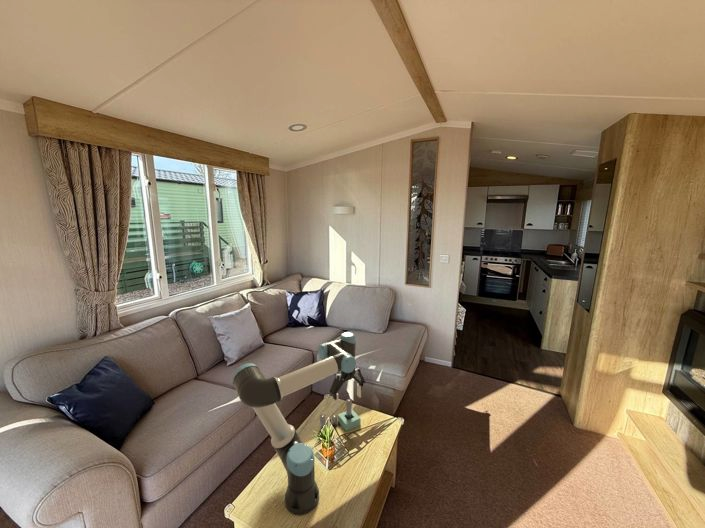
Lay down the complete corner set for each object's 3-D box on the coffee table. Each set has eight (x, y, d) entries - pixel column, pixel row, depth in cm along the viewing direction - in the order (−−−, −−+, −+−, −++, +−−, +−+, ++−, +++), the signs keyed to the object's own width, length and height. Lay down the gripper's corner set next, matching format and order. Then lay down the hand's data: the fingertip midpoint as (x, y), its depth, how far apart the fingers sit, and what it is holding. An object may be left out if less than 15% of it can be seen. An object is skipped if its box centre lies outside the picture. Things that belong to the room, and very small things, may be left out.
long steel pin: (348, 425, 180) (347, 402, 177) (345, 422, 183) (345, 399, 180) (352, 423, 182) (352, 401, 179) (349, 420, 184) (349, 398, 182)
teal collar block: (345, 431, 175) (345, 424, 175) (337, 420, 184) (337, 414, 183) (360, 424, 180) (360, 418, 180) (352, 415, 189) (352, 408, 188)
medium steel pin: (321, 432, 175) (321, 418, 173) (319, 429, 177) (318, 415, 176) (326, 430, 176) (326, 416, 175) (324, 427, 179) (323, 413, 177)
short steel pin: (333, 426, 179) (332, 418, 179) (330, 423, 182) (330, 415, 181) (337, 424, 181) (337, 416, 180) (335, 421, 184) (335, 413, 183)
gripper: (329, 372, 145) (329, 412, 148) (372, 359, 158) (371, 396, 161) (322, 365, 151) (323, 404, 155) (364, 353, 164) (363, 389, 168)
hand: (347, 400), depth 158 cm, fingers open, 13 cm apart
